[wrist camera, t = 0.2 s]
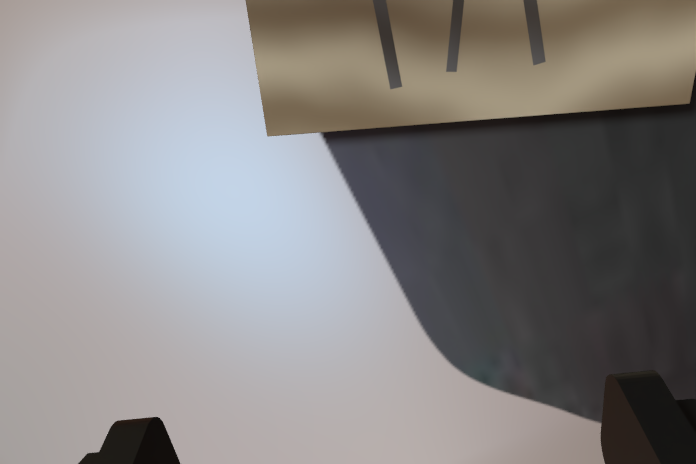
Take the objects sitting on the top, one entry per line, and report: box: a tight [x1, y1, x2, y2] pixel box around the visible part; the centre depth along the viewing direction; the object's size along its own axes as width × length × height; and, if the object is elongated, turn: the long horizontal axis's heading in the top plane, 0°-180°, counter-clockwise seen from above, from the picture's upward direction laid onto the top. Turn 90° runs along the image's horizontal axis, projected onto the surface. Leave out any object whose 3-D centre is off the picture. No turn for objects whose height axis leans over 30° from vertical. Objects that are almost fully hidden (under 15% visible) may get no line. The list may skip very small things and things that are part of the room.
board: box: [246, 0, 696, 136], centre depth 34 cm, size 12×25×2 cm, turn 95°
